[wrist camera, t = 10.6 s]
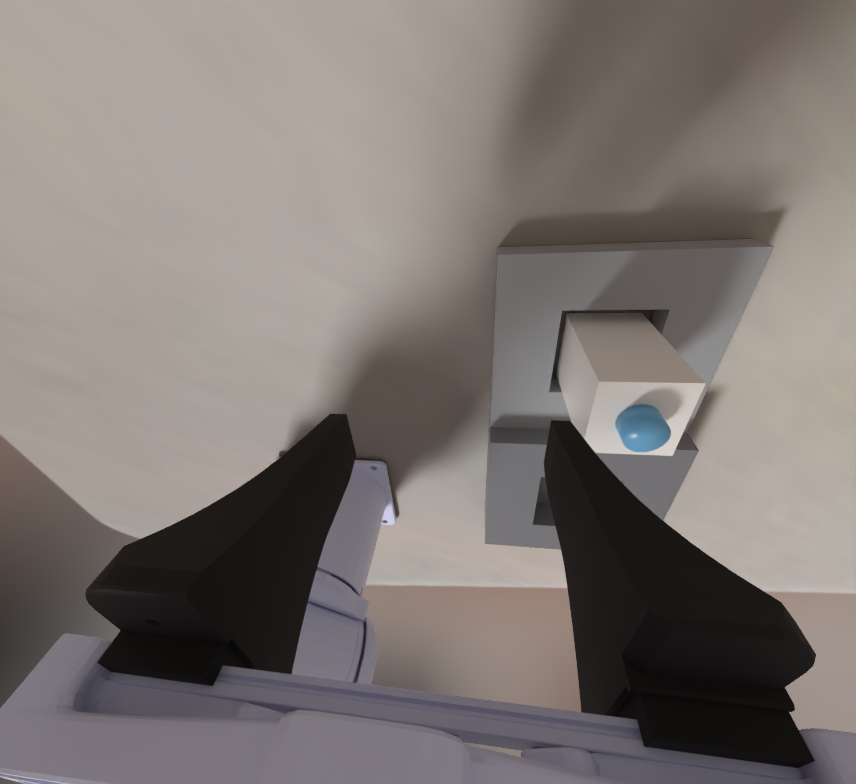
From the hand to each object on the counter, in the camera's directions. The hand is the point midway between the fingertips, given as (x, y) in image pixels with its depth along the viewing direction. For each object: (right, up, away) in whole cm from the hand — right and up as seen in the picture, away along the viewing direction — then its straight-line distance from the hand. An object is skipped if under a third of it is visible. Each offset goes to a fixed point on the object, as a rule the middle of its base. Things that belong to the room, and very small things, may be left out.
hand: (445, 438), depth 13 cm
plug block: (+9, +4, +8) cm, 13 cm away
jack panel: (+10, 0, +11) cm, 15 cm away
